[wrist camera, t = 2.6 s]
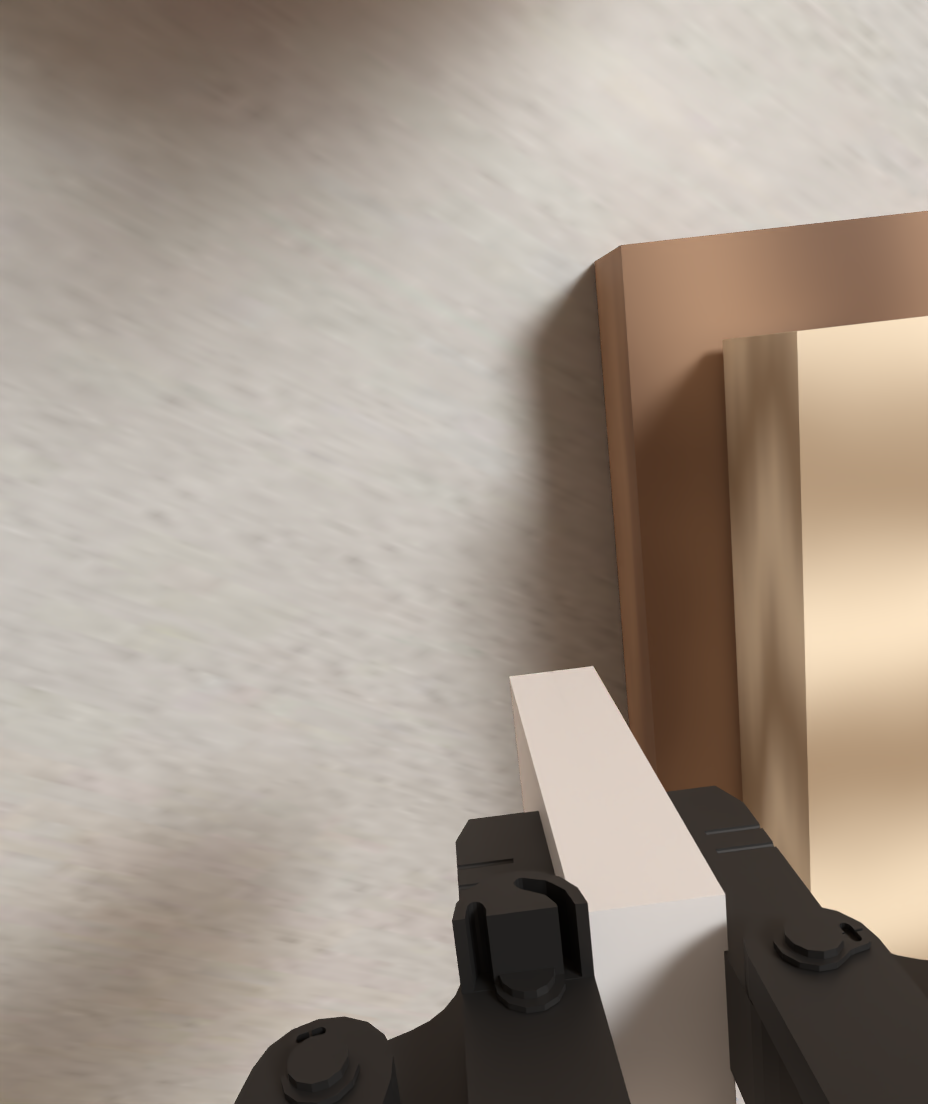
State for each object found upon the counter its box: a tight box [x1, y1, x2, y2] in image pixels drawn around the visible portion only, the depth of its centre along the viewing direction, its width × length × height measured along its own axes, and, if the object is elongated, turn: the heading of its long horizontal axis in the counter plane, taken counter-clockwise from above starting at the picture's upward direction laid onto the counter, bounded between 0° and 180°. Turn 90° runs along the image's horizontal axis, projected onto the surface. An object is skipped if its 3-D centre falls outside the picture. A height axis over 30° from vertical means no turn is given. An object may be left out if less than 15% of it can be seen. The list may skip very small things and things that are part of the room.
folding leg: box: [723, 316, 928, 960], centre depth 20 cm, size 19×4×5 cm, turn 6°
